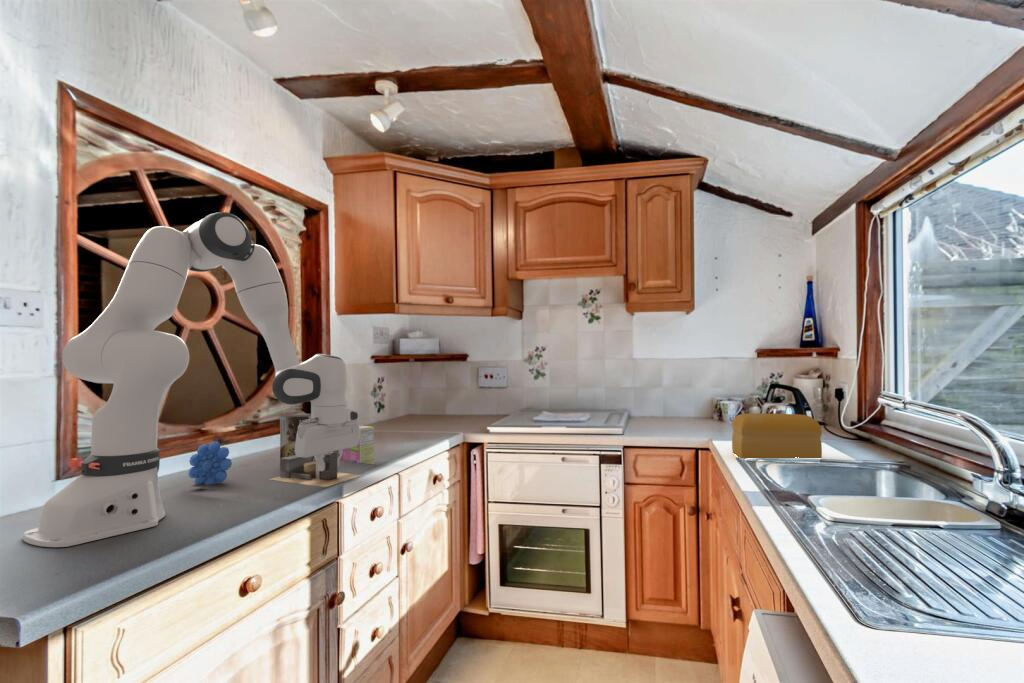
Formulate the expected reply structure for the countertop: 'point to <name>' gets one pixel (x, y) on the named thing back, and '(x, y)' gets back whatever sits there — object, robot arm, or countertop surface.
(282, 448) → the coffee box
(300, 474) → the bench
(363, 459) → the box
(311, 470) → the nut puck
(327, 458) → the ram handle
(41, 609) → the countertop surface
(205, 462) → the grapes
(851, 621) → the countertop surface
